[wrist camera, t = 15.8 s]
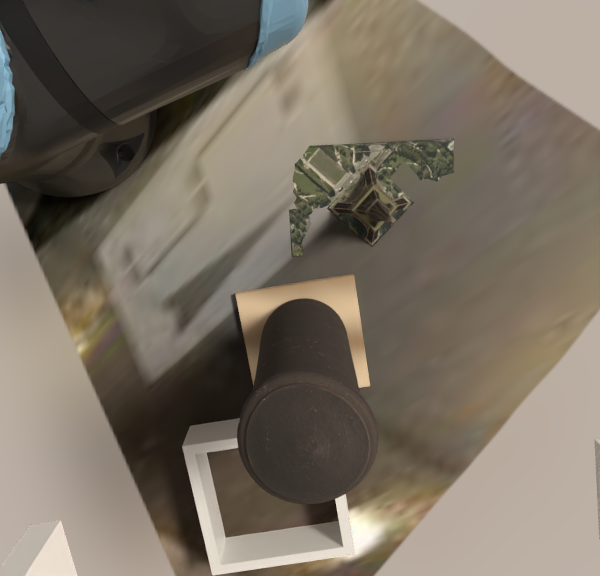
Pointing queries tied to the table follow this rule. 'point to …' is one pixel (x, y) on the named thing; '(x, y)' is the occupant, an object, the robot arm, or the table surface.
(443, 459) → the table surface
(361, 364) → the cork mat
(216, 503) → the frame
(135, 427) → the table surface
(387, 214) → the eiffel tower figurine
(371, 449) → the container
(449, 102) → the table surface
